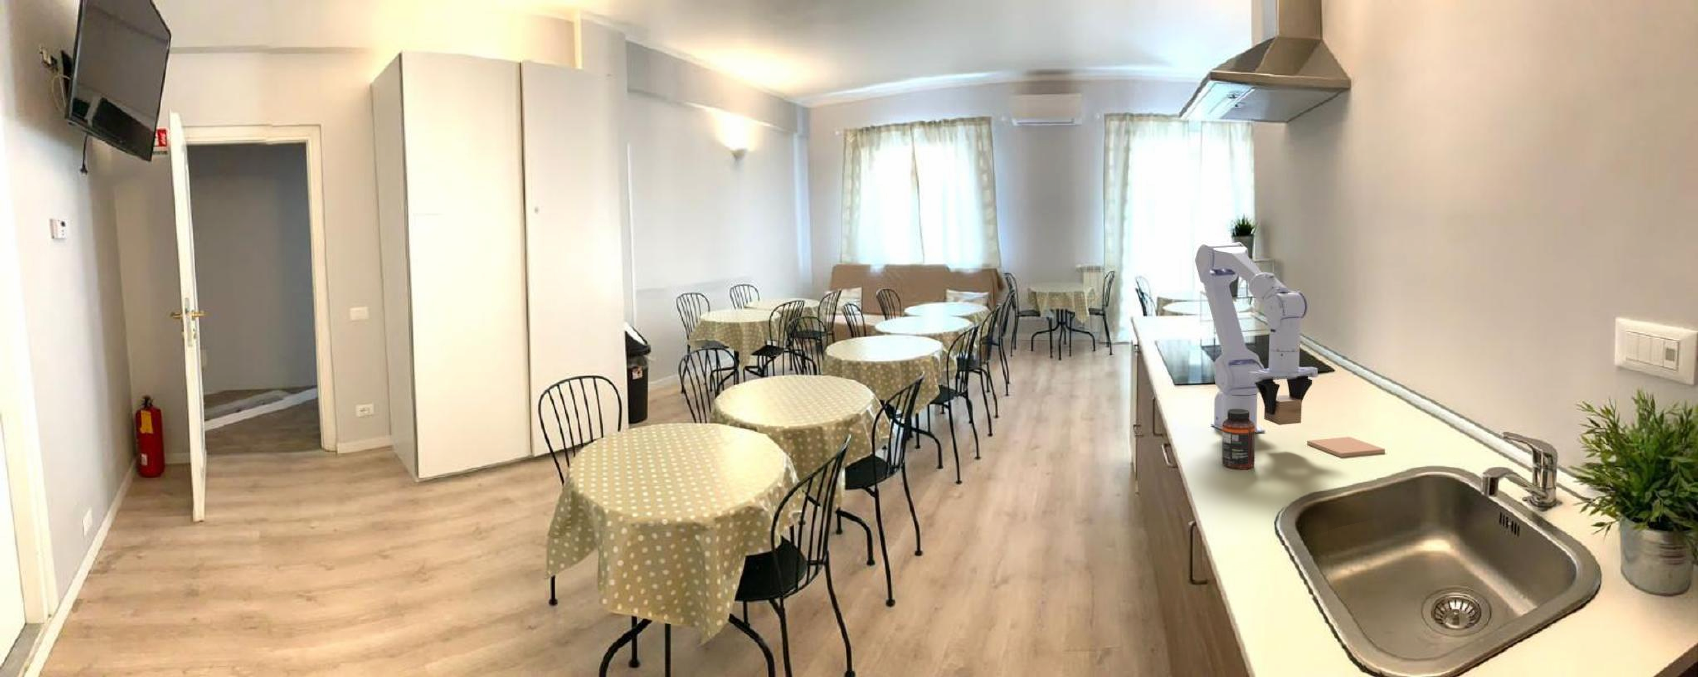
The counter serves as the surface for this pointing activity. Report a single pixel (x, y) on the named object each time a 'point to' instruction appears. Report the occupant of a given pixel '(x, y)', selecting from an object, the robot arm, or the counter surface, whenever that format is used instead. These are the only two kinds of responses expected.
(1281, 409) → the walnut cube
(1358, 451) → the terracotta tile
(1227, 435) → the supplement bottle
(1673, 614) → the counter surface
